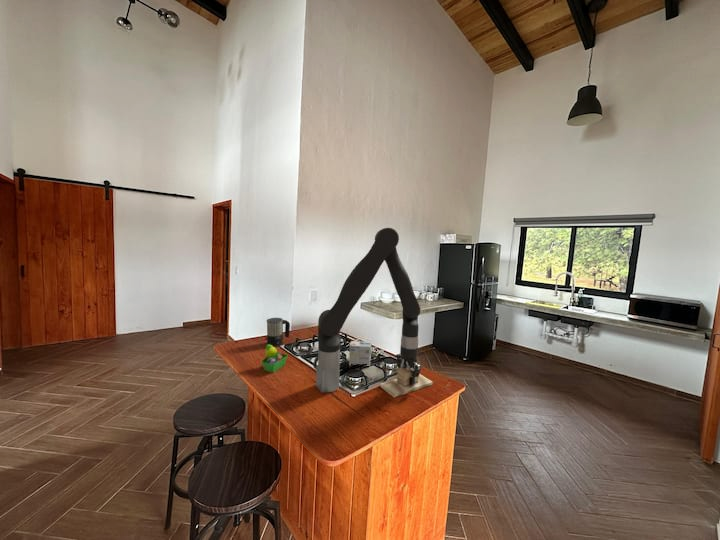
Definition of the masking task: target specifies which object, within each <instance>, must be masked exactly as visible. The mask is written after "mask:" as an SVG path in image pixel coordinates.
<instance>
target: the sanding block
mask: <svg viewBox="0 0 720 540" xmlns="http://www.w3.org/2000/svg"><path fill="white" fill-rule="evenodd" d="M410 369H413V368H410ZM396 374H397V375H396V376H397V377H396V379H397V382H398V383H400V384H401V385H402V386H404V387H406V386H409V385H410V384H409V379H410V372H408V368H407V367H404V368H397V373H396ZM412 374H413V371H412ZM418 378H419V377H415V383H418ZM415 383H414V384H415Z"/></svg>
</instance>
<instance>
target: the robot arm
mask: <svg viewBox="0 0 720 540" xmlns="http://www.w3.org/2000/svg"><path fill="white" fill-rule="evenodd" d="M399 240H400V237H399V233H398V231H397V230H396V229H394V228H392V227H384V228H382V229H380V230H379V231H377V232H376V234H375V236H374V242H373V244H372V246H370V249H369V251H368V252H367V253H366V255H365V256H364V257H363V258H362V259H361V260H360V261H359V262H358V263H357V265H355V266H354V267H353V269H352V270H351V272H350V273H349V275H348V276H347V278H346V280H345V281H344V283H343V285H342V288H341V290H340V293H339V295H338V298H337V300H336V301H335V303H334V305H333V306H332V307H331V308H330V309H325V310H324V311H322V312H321V313H320V315H319V317H318V319H317V321H318V323H317V328H318V329H317V340H318V341H317V342H318V343H317V344H318V350H317V351H318V357H317V359H318V360H317V365H316V366H315V367H316V368H315V369H316V370H315V387H316V388H317V389H318V390H319V391H320V393H333V392H336V391H337V390H338V389H339V388H340V372H341V371H340V368H341V366H340V365H341V338H340V337H341V335H340V333H341V332H340V331H341V330H342V328H343V326H344V324H345V322H346V321H347V319H348V316H349V315H350V313H351V312H352V310H353V309H354V308H355V306H356V305H357V303H358V302H359V301H360V299H361V297H362V296H363V295H364V294H365V292H366V290H367V289H368V288H369V286H370V285H371V284H372V282H373V280H374V278H375V276H376V274H377V273H378V271H379V270H380V269H381V266H382V265H383V263H384V262H385V264H386V265H387V269H388V272H389V274H390V277H391V280H392V282H393V285H394V289H395V291H396V293H397V295H398V297H399V301H400V303H401V307H402V327H401V336H400V337H401V338H400V347H399V348H400V352H399V353H400V354H397V355H396V363H397V364H396V365H397V369H399V368H404V367H407V368H408V372H410V379H409V384H410V385H413V384H414V383H415V377H419V374H421V373H420V372H421V369H422V365H421V364H418V363H417V357H418V353H419V323H418V321H419V319H418V318H419V315H420V313H421V307H420V303H419V300H418V299H417V297H416V294H415V292H414V288H413V285H412V282H411V279H410V276H409V274H408V272H407V270H406V268H405V266H404V265H403V263H402V261H401V259H400V257H399V253H398V250H397V246H398V245H399ZM410 368H413V369H410ZM412 371H413V374H412Z"/></svg>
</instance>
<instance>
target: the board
mask: <svg viewBox="0 0 720 540" xmlns="http://www.w3.org/2000/svg"><path fill="white" fill-rule="evenodd" d="M433 384H434V382H433V381H432V380H430V379H429V378H427V377H425V376H424V375H422V374H421V373H419V378H418V383H415V384H413V385H409V386H406V387H404V386H402V385H401V384H400V383H398V382H397V378H394V379H391V380H387V381H384V382H381V383H379V387H380V388H381V389H382V390H384V391H385V392H386V393H388V394H389V395H390V396H391V397H393V398H397V397H399V396H402V395H406V394H409V393H412V392H415V391H418V390H420V389H423V388H426V387H427V388H428V387H429V386H432V385H433Z"/></svg>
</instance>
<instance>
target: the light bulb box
mask: <svg viewBox="0 0 720 540" xmlns="http://www.w3.org/2000/svg"><path fill="white" fill-rule="evenodd" d="M348 358H349V361H348V365H349V366H351V364H355V363H356V364H367V365H368V366H370V367H371V362H370V361H372V359H371V358H372V342H371V341H358V340H356V341H354V340H351V341H350V344H349V357H348Z"/></svg>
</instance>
